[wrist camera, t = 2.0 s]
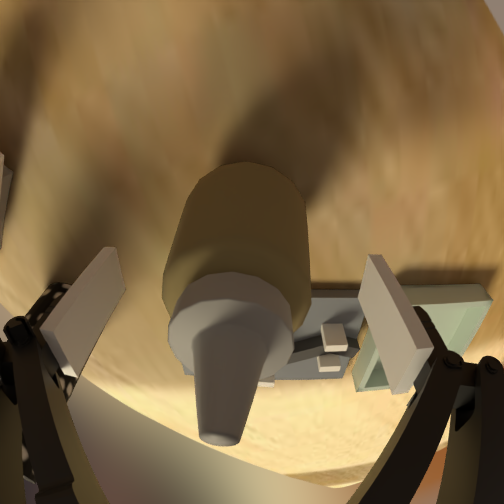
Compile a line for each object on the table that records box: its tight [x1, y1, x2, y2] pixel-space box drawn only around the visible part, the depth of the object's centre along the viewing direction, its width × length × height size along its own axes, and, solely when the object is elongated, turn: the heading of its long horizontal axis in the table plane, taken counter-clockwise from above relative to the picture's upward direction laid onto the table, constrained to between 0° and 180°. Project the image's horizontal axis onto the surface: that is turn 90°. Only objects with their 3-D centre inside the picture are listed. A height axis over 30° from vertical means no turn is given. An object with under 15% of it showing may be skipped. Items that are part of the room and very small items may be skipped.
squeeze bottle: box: [162, 161, 312, 446], centre depth 15 cm, size 8×8×18 cm
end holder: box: [352, 284, 493, 392], centre depth 28 cm, size 13×13×3 cm
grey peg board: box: [168, 289, 364, 387], centre depth 28 cm, size 12×18×4 cm, turn 89°
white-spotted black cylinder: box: [7, 283, 103, 484], centre depth 21 cm, size 8×8×20 cm
